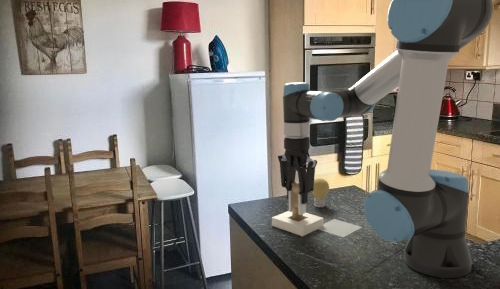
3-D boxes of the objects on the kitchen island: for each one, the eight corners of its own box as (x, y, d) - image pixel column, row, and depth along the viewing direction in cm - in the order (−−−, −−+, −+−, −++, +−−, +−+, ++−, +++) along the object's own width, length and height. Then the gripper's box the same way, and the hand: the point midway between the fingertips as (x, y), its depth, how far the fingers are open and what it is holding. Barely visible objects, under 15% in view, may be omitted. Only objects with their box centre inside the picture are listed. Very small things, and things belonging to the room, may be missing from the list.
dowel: (305, 226, 129) (304, 182, 126) (298, 230, 127) (298, 185, 124) (296, 224, 131) (296, 180, 128) (290, 227, 129) (289, 183, 126)
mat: (362, 228, 126) (362, 227, 126) (343, 238, 119) (343, 237, 119) (334, 220, 133) (334, 218, 133) (314, 229, 126) (314, 228, 126)
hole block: (323, 227, 128) (323, 217, 127) (302, 237, 121) (302, 227, 120) (293, 217, 136) (293, 208, 136) (272, 226, 130) (271, 217, 129)
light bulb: (329, 210, 142) (329, 181, 140) (310, 209, 143) (310, 181, 141) (328, 203, 148) (328, 176, 146) (310, 203, 149) (310, 176, 147)
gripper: (327, 137, 120) (326, 215, 125) (284, 131, 131) (285, 203, 136) (310, 141, 115) (310, 222, 120) (267, 134, 126) (269, 209, 131)
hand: (297, 211), depth 128 cm, fingers closed on dowel, 3 cm apart
